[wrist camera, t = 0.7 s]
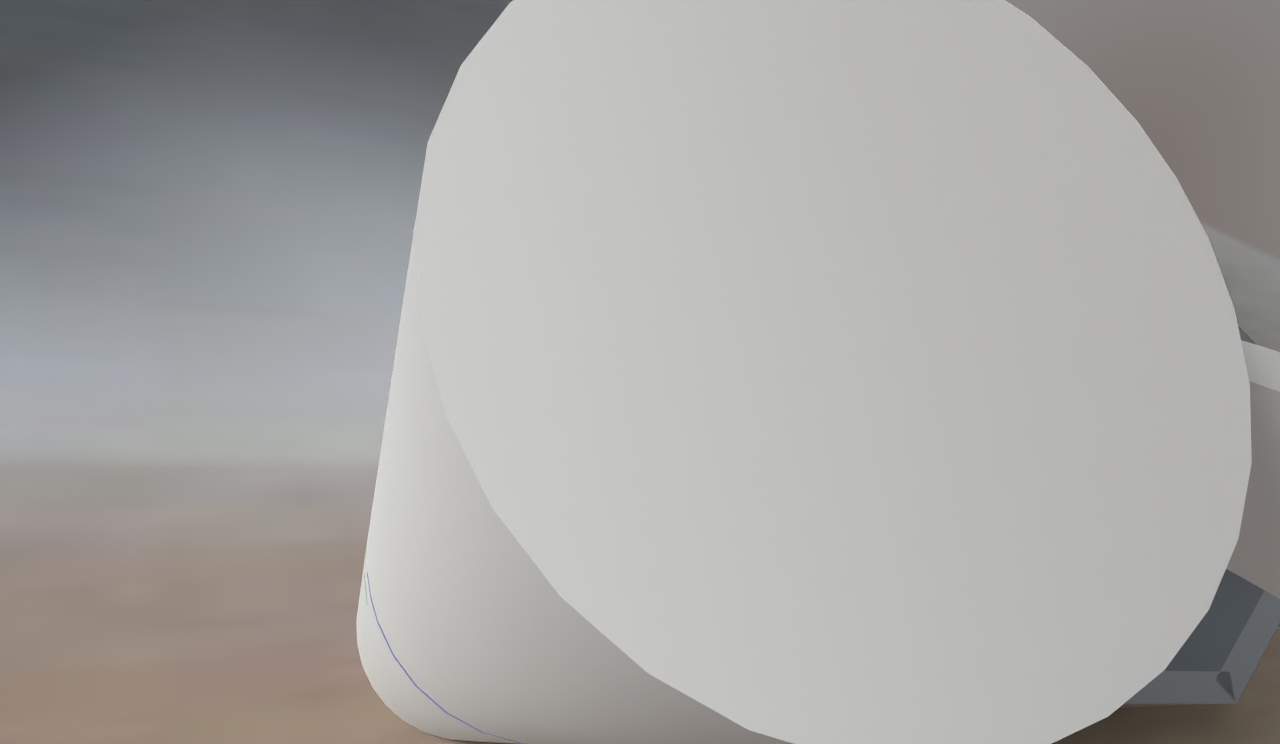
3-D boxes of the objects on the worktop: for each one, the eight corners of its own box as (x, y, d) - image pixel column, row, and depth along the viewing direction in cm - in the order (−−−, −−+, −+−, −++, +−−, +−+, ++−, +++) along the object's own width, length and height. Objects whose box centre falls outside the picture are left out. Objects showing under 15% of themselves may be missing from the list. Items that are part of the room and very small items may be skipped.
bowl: (701, 442, 34) (755, 399, 30) (962, 188, 42) (1036, 123, 38) (1055, 820, 33) (1167, 834, 29) (1255, 486, 41) (1367, 456, 37)
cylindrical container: (403, 783, 28) (672, 995, 5) (323, 555, 29) (271, -30, 7) (618, 680, 30) (1393, 534, 8) (536, 477, 32) (994, -122, 10)
